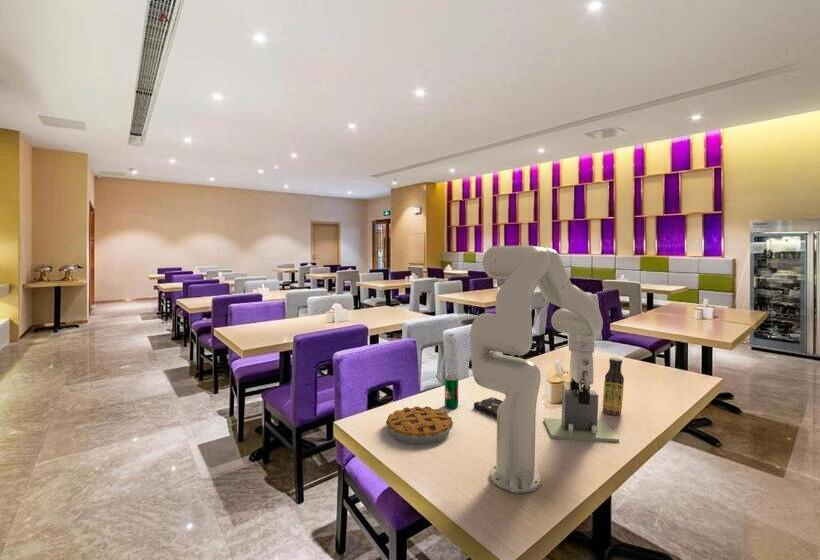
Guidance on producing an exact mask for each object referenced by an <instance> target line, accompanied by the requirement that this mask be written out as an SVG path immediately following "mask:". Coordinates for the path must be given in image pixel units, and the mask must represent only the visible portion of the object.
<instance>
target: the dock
mask: <svg viewBox="0 0 820 560" xmlns="http://www.w3.org/2000/svg"><path fill="white" fill-rule="evenodd" d="M543 423H544V426H545V427H546V429H547V433H549V436H550V438H551V439H558V440H561V439H562V440H572V441H587V442H588V441H590V442H591V441H592V442H607V443H620V438H619V437H618V435H617V434H616V433H615V432H614V430H613V429H612V427H610V426H609V424H608V423H607V422H606V421H605V420H598V421H597V426H596V425H592V431H574V430H573V424H569V428H568V430H564V428H563V426H562V418H550V417H548V418H547V417H544V418H543ZM596 429H597V432H596Z"/></svg>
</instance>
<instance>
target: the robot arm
mask: <svg viewBox="0 0 820 560" xmlns="http://www.w3.org/2000/svg"><path fill="white" fill-rule="evenodd" d="M482 267H483V271H484V272H485V274H486V275H487V276H488V277H490V278H492V279H503V280H504V279H505V281H504V282H503V284H501V286H500V288H499V289H498V291H497V293H496V296H495V313H493V312H483V313H481V314H478V316H476V317H475V318H474V319H473V321H472V324H471V327H470V331H469V332H470V333H469V343H470V358H471V370H472V371H471V372H472V376H473V379H474V381H475V383H476V384H477V385H478V386H479V387H482V388H484V389H488V390H491V391H493V392H498V393H500V394H504V395H505V398H504V399H503V400H502V401H503V402H502V403H501V404H500V405H499V407H498V410H497V419H496V460H495V461H496V464H495V465H493V466H492V467H491V468H490V471H489V477H490V480H491V481H492V482H493V484H494V485H496V486H497V487H498V488H500V489H502V490H505V491H508V492H512V493H513V494H515V493H518V494H523V493H524V494H525V493H531V492H533V491H536V490H537V489H538V488H539V487H540V486H541V481H542V478H541V475H540V473H539V472H538V471H537V470H536V469H535V465H536V464H535V462H536V461H535V460H536V420H537V419H536V416H537V415H536V412H537V401H538V395H539V394H538V393H539V390H540V385H541V380H542V379H541V378H542V377H541V376H542V375H541V372H540V371H541V370H540V369H539V367H538V366H537V365H536V363H533V362H531V361H530V360H528V359H523V358H521V357H516V356H524V355H526V354H528V353H530V351H531V348H532V346H533V318H532V317H533V316H532V299H533V295H534V292H535V291H536V288H537V287H538V288H539V291H540V294H541V295H542V296H543V298H544V299H545V301H547V302H549V303H550V304H552V305H554V306H556V307H559V309H557V310H555V311H554V312H553V314H552V316H551V320H550V321H551V325H552V327H553V329H554V330H555V331H557V332H560V333H564V334H569V335H568V336H569V337H568V351H570V360H569V361H570V364H569V375H570V382H569V383H570V385H569V388H570V389H569V390H580V391H579V395H578V403H579V404H584V405H589V403H590V391H591V385H593V384H594V357H593V354H594V353H595V341H596V340H595V337H597V336H598V335H599V334H601V333H602V330H603V328H604V327H603V324H604V321H603V317H602V314H601V310H600V308H599V306H598V304H597V301H595V299H594V298H593V297H591V295H589V294H587V293H586V292H585V291H584V290H583V289H581V288H579V287H578V286H576V285H575V284H572V282H571V279H570V277H569V274H568V272H567V271H566V268H565V266H564V263H563V261H562V258H561V256H560V254H559V253H558V252H557V250H555V249H553V248H550V247H545V246H543V247H542V246H535V245H495V246H491V247H489V248H488V249H487V250H486V251H485V252H484V255H483V257H482ZM498 352H499V353H498ZM501 353H502V354H501ZM506 354H507V355H506ZM513 355H514V356H513Z"/></svg>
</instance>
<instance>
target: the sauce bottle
mask: <svg viewBox="0 0 820 560" xmlns="http://www.w3.org/2000/svg"><path fill="white" fill-rule="evenodd" d="M622 365H623V360H622V358H619V357H610V358H609V368H608V371H607V372H606V374H605V375H604V378H605V379H604V384H603V398H602V411H603V412H604V413H606V414H607V415H612V416H613V415H614V416H620V415H621V414H622V409H623V399H624V382H625V381H624V379H625V377H624V375H623V374H622Z"/></svg>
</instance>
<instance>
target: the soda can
mask: <svg viewBox="0 0 820 560" xmlns="http://www.w3.org/2000/svg"><path fill="white" fill-rule="evenodd" d="M444 406H445V408H446V409H450V410H452V409H453V410H454V409H457V408H458V407H459V377H458V375H457V374H454V373H448V374H446V375H445V377H444Z"/></svg>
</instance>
